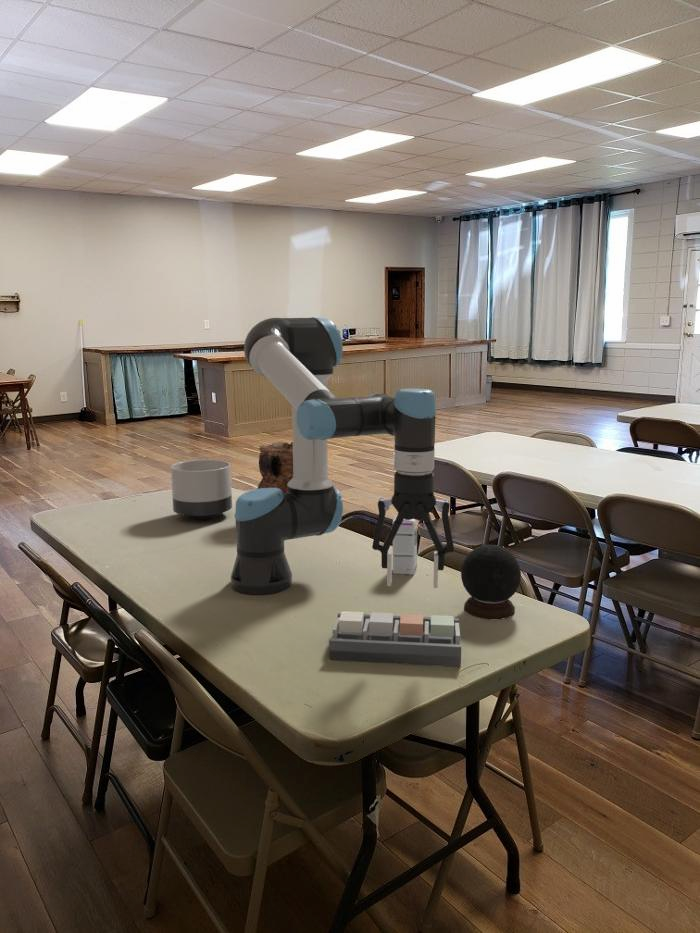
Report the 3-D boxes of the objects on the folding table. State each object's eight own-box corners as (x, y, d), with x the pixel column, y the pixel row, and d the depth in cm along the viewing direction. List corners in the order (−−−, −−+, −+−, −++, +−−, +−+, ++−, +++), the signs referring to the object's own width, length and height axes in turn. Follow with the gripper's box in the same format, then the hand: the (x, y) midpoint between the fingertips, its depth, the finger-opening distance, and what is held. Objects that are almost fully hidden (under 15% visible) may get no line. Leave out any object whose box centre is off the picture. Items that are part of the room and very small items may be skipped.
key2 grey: (369, 633, 138) (369, 621, 137) (371, 623, 142) (371, 612, 142) (392, 634, 137) (392, 622, 137) (393, 624, 142) (393, 613, 141)
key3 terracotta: (399, 634, 137) (399, 623, 137) (400, 624, 141) (400, 613, 141) (422, 635, 137) (423, 624, 136) (423, 625, 141) (423, 614, 140)
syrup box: (414, 575, 180) (415, 520, 177) (391, 573, 181) (392, 519, 178) (417, 567, 185) (417, 514, 182) (394, 566, 186) (395, 513, 183)
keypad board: (329, 659, 135) (329, 638, 134) (338, 630, 147) (338, 611, 146) (460, 666, 132) (461, 645, 131) (458, 636, 145) (458, 616, 144)
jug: (266, 508, 244) (264, 438, 239) (325, 510, 241) (325, 439, 236) (249, 526, 223) (246, 449, 218) (313, 529, 220) (312, 451, 215)
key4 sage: (430, 636, 136) (430, 624, 136) (430, 626, 141) (430, 615, 140) (453, 637, 136) (454, 625, 135) (453, 627, 140) (453, 616, 140)
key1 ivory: (338, 631, 138) (338, 620, 138) (341, 622, 143) (341, 611, 142) (361, 632, 138) (361, 621, 137) (363, 623, 142) (363, 612, 142)
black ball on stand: (481, 625, 150) (483, 558, 147) (448, 603, 162) (450, 541, 159) (531, 615, 155) (534, 550, 152) (496, 594, 167) (499, 534, 164)
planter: (226, 525, 225) (224, 471, 221) (166, 525, 225) (163, 471, 222) (236, 509, 244) (235, 459, 240) (181, 509, 244) (179, 459, 240)
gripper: (356, 474, 130) (356, 589, 135) (471, 476, 128) (467, 593, 132) (360, 466, 137) (360, 575, 142) (469, 468, 135) (465, 579, 140)
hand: (412, 584), depth 137 cm, fingers open, 8 cm apart
